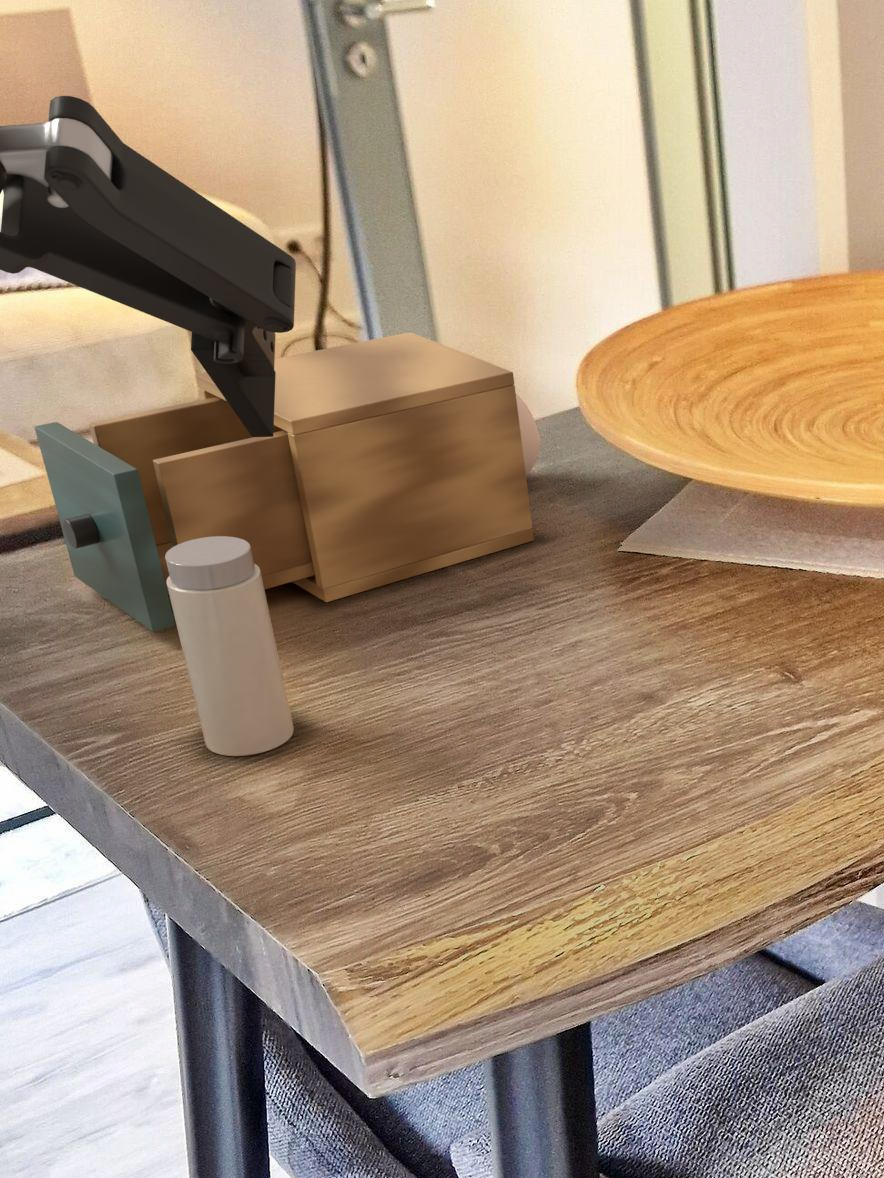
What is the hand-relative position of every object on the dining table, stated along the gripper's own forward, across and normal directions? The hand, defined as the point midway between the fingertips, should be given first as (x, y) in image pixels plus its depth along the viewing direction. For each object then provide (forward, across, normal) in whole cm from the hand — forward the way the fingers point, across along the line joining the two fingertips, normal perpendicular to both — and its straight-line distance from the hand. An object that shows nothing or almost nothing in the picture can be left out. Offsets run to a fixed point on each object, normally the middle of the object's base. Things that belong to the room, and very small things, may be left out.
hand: (73, 409), depth 64 cm
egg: (+46, +8, +18) cm, 50 cm away
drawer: (+34, -6, +7) cm, 35 cm away
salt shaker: (+22, 0, -6) cm, 23 cm away
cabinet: (+39, +2, +11) cm, 41 cm away
